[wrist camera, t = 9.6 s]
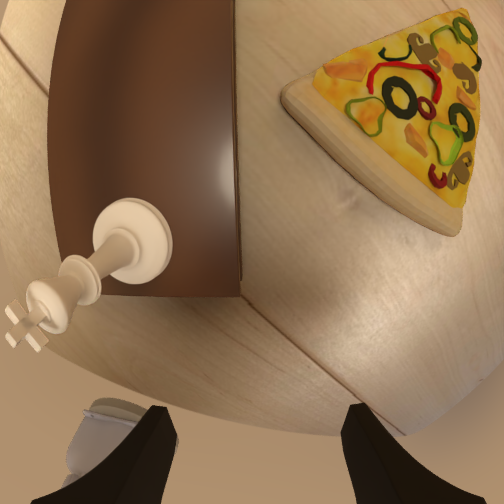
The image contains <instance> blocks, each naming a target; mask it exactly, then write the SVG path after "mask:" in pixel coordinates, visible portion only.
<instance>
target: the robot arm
mask: <svg viewBox="0 0 504 504" xmlns="http://www.w3.org/2000/svg"><path fill="white" fill-rule="evenodd" d="M83 414H84V415H85V417H84V419H83V421H82V423H81V424H80V426H79V428H78V430H77V432H76V434H75V436H74V437H73V439H72V441H71V443H70V445H69V447H68V450H67V457H66V460H67V466H68V468H69V470H70V472H71V473H72V474H69V475H67V477H66V479H65V481H64V483H63V485H62V487H61V489H60V490H58V491H56V492H53V493H51V494H49V495H46V496H43V497H40V498H38V499H34V500H32V502H31V504H161V500H162V495H163V492H164V488H165V485H166V482H167V478H168V474H169V471H170V468H171V464H172V461H173V457H174V452H175V446H176V438H177V433H176V431H175V428H174V426H173V423H172V420H171V418H170V415H169V413H168V410H167V407H162V406H155V405H152V406H151V407H150V408H149V409H148V411H147V412H146V413H145V415H144V416H143V417H142V418H141V420H140V421H139V422H135V421H130V420H125V419H120V418H116V417H112V416H108V415H103V414H100V413H96V412H92V411H89V410H84V411H83ZM341 439H342V446H343V452H344V456H345V460H346V464H347V467H348V471H349V474H350V478H351V481H352V485H353V489H354V492H355V497H356V502H357V504H487V503H486V501H485V499H484V498H483V497H480V496H477V495H474V494H471V493H468V492H466V491H464V490H461V489H459V488H457V487H455V486H453V485H451V484H450V483H448V482H446V481H445V480H443V479H441V478H439V477H438V476H436V475H435V474H433V473H432V472H431V471H429V470H428V469H426V468H425V467H424V466H423V465H421V464H420V463H419V462H418V461H417V460H415V459H414V458H413V457H412V456H411V455H410V454H409V453H408V452H407V451H406V450H405V449H404V448H403V447H402V446H401V445H400V444H399V443H398V442H397V441H396V440H395V439H394V438H393V436H392V435H391V434H390V433H389V432H388V431H387V430H386V428H385V427H384V426H383V425H382V424H381V422H380V421H379V420H378V419H377V417H376V416H375V415H374V414H373V412H372V411H371V410H370V408H369V407H368V406H367V405H366V404H365V403H359V404H352V405H350V407H349V410H348V413H347V416H346V419H345V422H344V424H343V427H342V430H341Z"/></svg>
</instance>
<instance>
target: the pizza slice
mask: <svg viewBox="0 0 504 504" xmlns="http://www.w3.org/2000/svg"><path fill="white" fill-rule="evenodd" d="M477 41H478V35H477V32H476V30H475V28H474V26H473V24H472V22H471V20H470V17H469V14H468V11H467V9H464V8H460V9H457V10H454V11H450V12H446V13H443V14H440V15H435V16H433V17H431V18H430V19H428V20H426V21H424V22H422V23H419V24H416V25H413V26H411V27H408V28H405V29H403V30H400V31H397V32H395V33H392V34H390V35H387V36H385V37H382V38H380V39H378V40H376V41H373V42H371V43H369V44H367V45H363V46H360V47H357V48H354V49H352V50H350V51H348V52H346V53H344V54H342V55H340V56H338V57H336V58H335V59H333V60H331V61H330V62H328V63H327V64H323V66H322V67H321V68H320V69H318V70H316V71H314V72H312V73H311V74H309V75H307V76H304V77H302V78H299V79H297V80H295V81H293V82H291V83H289V84H287V85H286V86H285V87H284V88H283V90H282V91H281V103H282V105H283V106H284V107H285V109H286V110H287V111H288V113H289V114H290V115H291V116H292V117H293V118H294V119H295V120H296V121H297V122H298V123H299V124H300V125H301V126H302V127H303V128H304V129H305V130H306V131H307V132H308V133H309V134H310V135H311V136H312V137H313V138H314V139H315V140H316V141H317V142H318V143H319V144H320V145H321V146H322V147H323V148H324V149H325V150H326V151H327V152H328V153H329V154H330V155H331V156H332V157H333V158H334V159H335V160H336V161H337V162H338V163H339V164H340V165H341V166H342V167H343V168H344V169H346V170H347V171H348V172H349V173H350V174H351V175H352V176H353V177H355V178H356V179H357V180H358V181H359V182H360V183H362V184H363V185H364V186H365V187H367V188H368V189H369V190H370V191H371V192H373V193H374V194H375V195H376V196H377V197H379V198H380V199H381V200H383V201H384V202H386V203H387V204H389V205H390V206H392V207H393V208H394V209H396V210H397V211H399V212H400V213H402V214H404V215H405V216H407V217H409V218H410V219H412V220H414V221H415V222H417V223H419V224H421V225H423V226H425V227H427V228H429V229H431V230H433V231H435V232H437V233H440V234H442V235H445V236H449V237H454V236H456V235H457V234H458V233H459V232H460V230H461V227H462V218H463V206H464V204H465V202H466V197H467V189H468V186H469V183H470V179H471V176H472V172H473V166H474V154H475V145H476V138H477V134H478V129H479V122H480V94H479V73H478V71H479V70H480V68H481V64H482V60H481V58H480V57H479V56H478V49H477V48H478V42H477Z"/></svg>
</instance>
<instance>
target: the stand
mask: <svg viewBox="0 0 504 504" xmlns="http://www.w3.org/2000/svg"><path fill="white" fill-rule="evenodd" d="M47 150H48V172H49V185H50V195H51V204H52V211H53V218H54V225H55V231H56V237H57V242H58V247H59V252H60V257H61V261H62V263H63V261H64V260H65V259H66V258H67V257H68V256H71V255H79V256H82V257H84V258H86V259H88V258H89V257H90V256H91V255H92V254H93V253H94V252H95V250H94V246H93V230H94V226H95V223H96V220H97V218H98V217H99V215H100V214H101V212H102V211H103V210H104V209H105V208H106V207H108V206H109V205H111V204H112V203H113V202H115V201H117V200H120V199H124V198H137V199H141V200H144V201H146V202H148V203H150V204H151V205H153V206H154V207H155V208H157V209H158V210H159V211H160V213H161V214H162V215H163V216H164V218H165V219H166V221H167V223H168V225H169V228H170V231H171V234H172V241H173V248H172V255H171V258H170V261H169V263H168V265H167V267H166V268H165V269H164V271H163V272H162V273H161V274H159V275H158V276H157V277H155V278H154V279H152V280H150V281H148V282H146V283H142V284H128V283H124V282H122V281H119V280H117V279H116V278H114V277H113V276H111V275H110V274H109V275H108V276H106V277H104V278H102V279H101V286H102V288H101V294H104V295H125V296H154V297H240V293H241V284H240V281H242V277H243V274H242V250H241V224H240V196H239V166H238V132H237V93H236V43H235V0H66V3H65V7H64V10H63V14H62V18H61V22H60V26H59V30H58V35H57V40H56V45H55V51H54V56H53V63H52V70H51V78H50V88H49V100H48V121H47Z"/></svg>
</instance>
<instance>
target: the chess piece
mask: <svg viewBox="0 0 504 504" xmlns="http://www.w3.org/2000/svg"><path fill="white" fill-rule="evenodd" d="M93 246H94V250H95V252H94V253H93V254H92V255H91V256H90V257H89V258H88V259H86V258H84V257H82V256H79V255H71V256H68V257H67V258H66V259H65V260H64V261H63V263H62V264H61V266H60V269H59V276H57V277H54V278H43V279H38V280H35V281H33V282H31V283H30V285H29V286H28V288H27V292H26V301H27V305H28V308H29V311H30V313H28V314H27V313H26V312H25V311H24V309H23V308H22V307H21V305H20V304H19V302H18V301H17V300H16V299H15V300H13V301H12V302H11V303H10V304H8V305H7V307H6V310H5V312H6V314H7V315H8V317H9V318H10V319H11V320H12V322H13V323H14V324H15V326H14V327H12V328H11V329H10V330H9V331H8V332H7V334H6V336H5V338H6V339H7V340H8V342H9V343H10V344H11V345H12V347H13V348H15V347H16V346H17V345H18V344H19V343H20V342H21V341H22V340H23V339H24V338H26V340H27V341H28V342H29V343H30V345H31V346H32V347H33V348H34V349H35V350H36V351H37V353H38V352H39V351H40V350H41V349H42V348H43V347H44V346H45V344H46V343H47V342H48V341H49V340H48V339H47V338H46V337H45V335H44V334H43V333H42V332H41V331H40V329H39V328H38V327H37V326H38V325H39V326H41V327H42V328H43V329H44V330H46V331H48V332H50V333H53V334H60V333H63V332H64V331H65V330H66V329H67V327H68V326H69V323H70V321H71V318H72V314H73V312H74V309H75V307H76V306H77V304H80V305H89V304H92V303H94V302H96V301H97V300H98V298H99V297H100V294H101V288H102V286H101V279H102V278H104V277H106V276H108V275H109V274H110V275H111V276H113V277H114V278H116V279H117V280H119V281H122V282H124V283H128V284H142V283H146V282H148V281H150V280H152V279H154V278H155V277H157V276H158V275H159V274H161V273H162V272H163V271H164V269H165V268H166V267H167V265H168V263H169V261H170V258H171V255H172V248H173V241H172V234H171V231H170V228H169V225H168V223H167V221H166V219H165V218H164V216H163V215H162V214H161V213H160V211H159V210H158V209H157V208H155V207H154V206H153V205H151V204H150V203H148V202H146V201H144V200H141V199H137V198H124V199H120V200H117V201H115V202H113V203H112V204H111V205H109V206H108V207H106V208H105V209H104V210H103V211H102V212H101V214H100V215H99V217H98V218H97V220H96V223H95V226H94V230H93Z"/></svg>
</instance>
